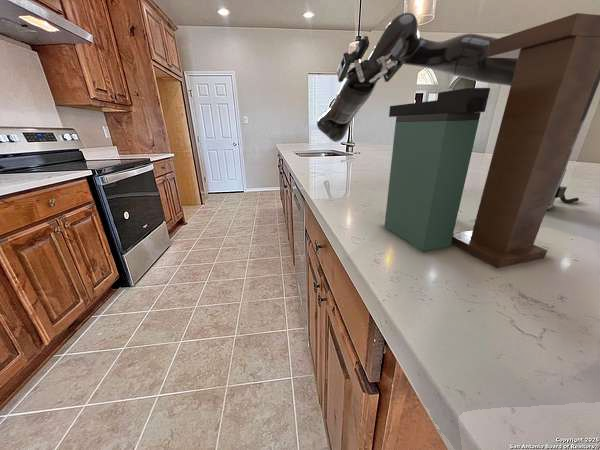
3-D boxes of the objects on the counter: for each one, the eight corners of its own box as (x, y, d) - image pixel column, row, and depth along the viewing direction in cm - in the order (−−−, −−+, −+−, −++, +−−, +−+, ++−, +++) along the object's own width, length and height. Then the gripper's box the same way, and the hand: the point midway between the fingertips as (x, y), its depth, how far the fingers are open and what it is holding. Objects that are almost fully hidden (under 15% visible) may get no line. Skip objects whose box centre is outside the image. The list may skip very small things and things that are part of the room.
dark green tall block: (407, 223, 55) (423, 115, 47) (450, 246, 45) (481, 112, 36) (384, 226, 54) (396, 116, 45) (422, 251, 43) (447, 113, 35)
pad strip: (403, 116, 50) (405, 100, 49) (485, 111, 34) (490, 87, 33) (386, 116, 50) (388, 100, 48) (462, 112, 33) (467, 87, 32)
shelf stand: (482, 231, 50) (535, 43, 37) (544, 257, 40) (644, 14, 28) (442, 239, 48) (484, 40, 35) (497, 268, 38) (583, 8, 25)
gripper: (325, 80, 64) (350, 22, 48) (373, 80, 67) (412, 25, 52) (330, 106, 63) (357, 56, 48) (379, 105, 67) (419, 57, 51)
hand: (385, 40), depth 50 cm, fingers open, 8 cm apart
